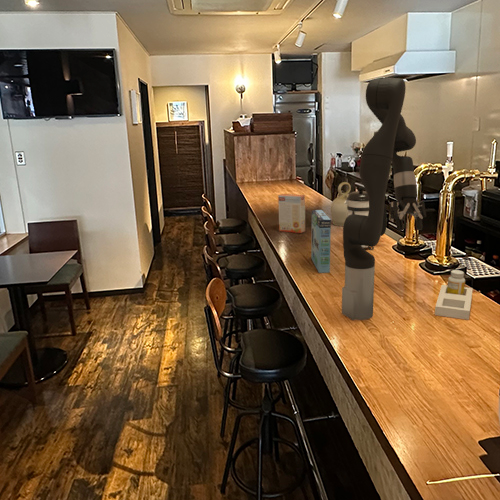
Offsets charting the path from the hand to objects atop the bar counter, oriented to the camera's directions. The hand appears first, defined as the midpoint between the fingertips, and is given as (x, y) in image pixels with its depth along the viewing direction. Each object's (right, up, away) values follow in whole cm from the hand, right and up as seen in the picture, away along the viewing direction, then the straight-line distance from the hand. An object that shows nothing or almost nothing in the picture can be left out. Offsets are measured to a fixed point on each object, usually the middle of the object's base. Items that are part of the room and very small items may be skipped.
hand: (410, 230), depth 166 cm
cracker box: (-34, +3, +97) cm, 102 cm away
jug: (-2, +8, +108) cm, 109 cm away
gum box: (-27, -14, +36) cm, 47 cm away
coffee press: (-3, -6, +60) cm, 61 cm away
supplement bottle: (+14, -24, -5) cm, 28 cm away
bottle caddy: (+11, -26, -10) cm, 30 cm away
